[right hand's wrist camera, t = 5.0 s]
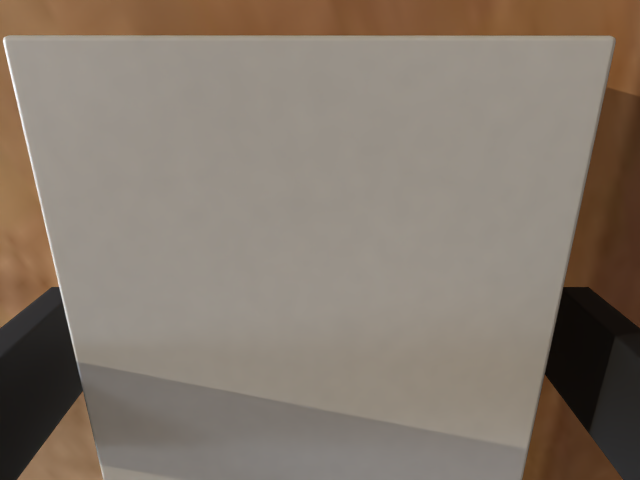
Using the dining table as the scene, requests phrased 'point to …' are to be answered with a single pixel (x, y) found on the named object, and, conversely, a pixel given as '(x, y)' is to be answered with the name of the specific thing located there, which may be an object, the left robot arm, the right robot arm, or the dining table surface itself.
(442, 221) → the slab
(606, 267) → the dining table surface
